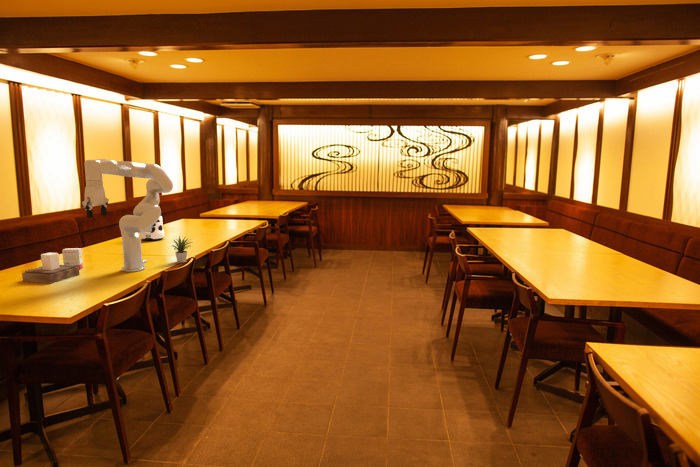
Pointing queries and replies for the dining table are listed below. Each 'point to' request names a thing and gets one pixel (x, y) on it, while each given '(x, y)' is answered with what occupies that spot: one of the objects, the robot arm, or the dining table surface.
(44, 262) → the block
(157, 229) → the milk container
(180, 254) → the house plant
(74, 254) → the ink box
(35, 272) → the pedestal
